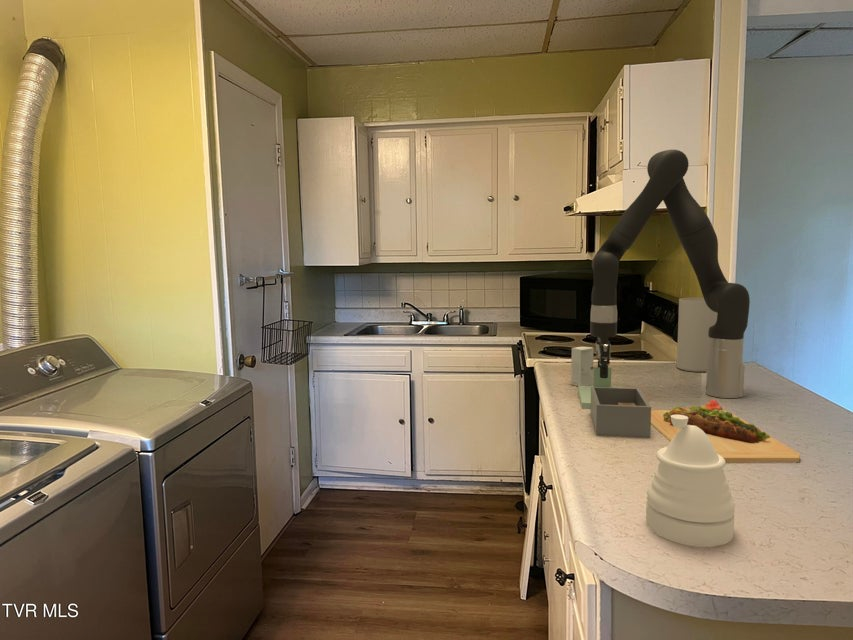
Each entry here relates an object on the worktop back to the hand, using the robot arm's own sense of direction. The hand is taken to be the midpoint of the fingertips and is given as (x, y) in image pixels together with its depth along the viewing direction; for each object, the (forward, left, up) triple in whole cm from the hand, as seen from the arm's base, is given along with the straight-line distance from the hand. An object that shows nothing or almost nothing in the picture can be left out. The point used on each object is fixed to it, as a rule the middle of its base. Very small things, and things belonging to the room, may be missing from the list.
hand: (602, 375), depth 175 cm
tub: (-1, +31, -6) cm, 32 cm away
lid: (0, +8, -6) cm, 10 cm away
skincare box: (+5, -14, -6) cm, 16 cm away
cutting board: (-21, +34, -7) cm, 41 cm away
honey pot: (-6, +82, -7) cm, 83 cm away
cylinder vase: (-36, -43, -6) cm, 56 cm away
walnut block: (-3, +27, -5) cm, 28 cm away
